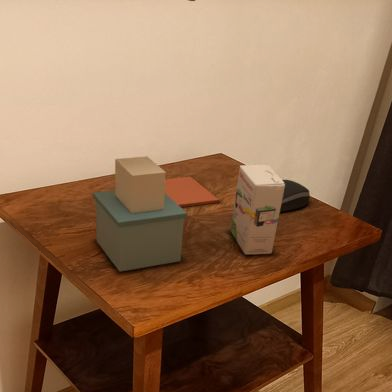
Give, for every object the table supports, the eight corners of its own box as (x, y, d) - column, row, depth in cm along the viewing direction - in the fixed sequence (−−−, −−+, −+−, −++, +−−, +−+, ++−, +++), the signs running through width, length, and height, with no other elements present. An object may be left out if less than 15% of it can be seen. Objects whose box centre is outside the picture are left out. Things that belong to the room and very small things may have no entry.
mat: (161, 210, 97) (161, 206, 96) (135, 185, 105) (135, 182, 104) (218, 202, 102) (219, 199, 101) (190, 179, 110) (190, 176, 109)
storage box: (118, 273, 78) (118, 222, 73) (94, 240, 85) (92, 192, 80) (183, 261, 83) (187, 213, 78) (155, 232, 90) (157, 185, 85)
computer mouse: (246, 203, 103) (249, 183, 100) (290, 191, 109) (294, 172, 107) (272, 217, 99) (276, 196, 96) (316, 204, 105) (321, 184, 103)
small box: (131, 213, 76) (132, 175, 72) (115, 195, 80) (115, 158, 77) (163, 209, 78) (165, 172, 74) (146, 192, 82) (147, 156, 79)
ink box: (229, 231, 92) (238, 163, 85) (256, 230, 94) (267, 163, 86) (244, 255, 86) (255, 183, 79) (272, 254, 87) (287, 183, 80)
